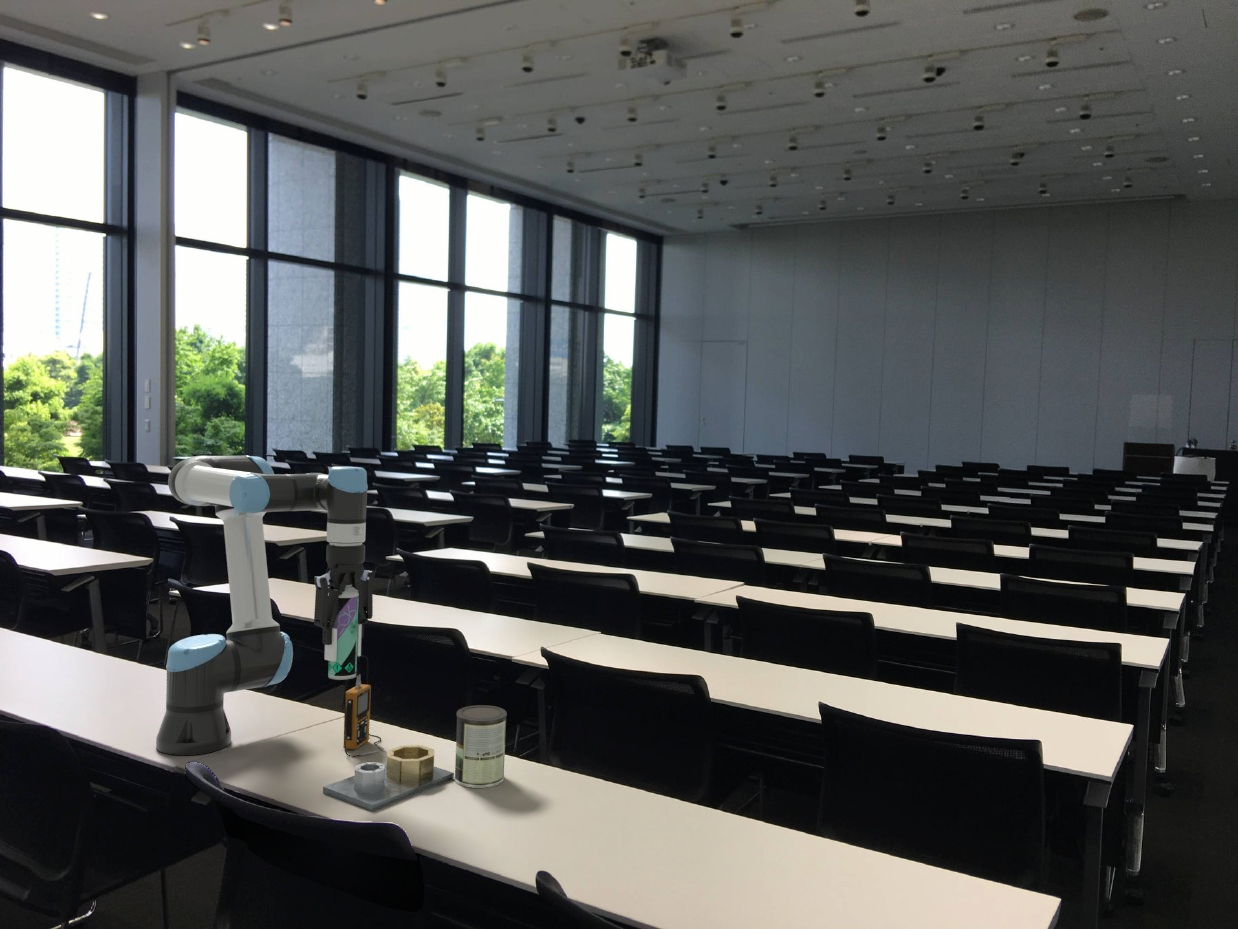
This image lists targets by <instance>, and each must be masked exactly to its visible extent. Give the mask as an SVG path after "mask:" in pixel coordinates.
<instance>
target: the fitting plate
mask: <svg viewBox="0 0 1238 929" xmlns="http://www.w3.org/2000/svg"><path fill="white" fill-rule="evenodd" d="M386 757H387V758H386V759H387V760H386V764H383V763H380V762H369V761H368V762H362V763H359V764H357V765H355V768H354V775H353V776H350V777H347V778H343V779H341V780H339V781H336V782H334V783H332V782H331V783H330V784H326V785H324V786H323V787H322V793H323V794H325V795H328V796H330V797H333V798H335V799H339V800H341V801H344V802H346V803H349V804H351V805H355V806H357V807H360V808H362V809H366V810H368V811H370V812H374V811H377V810H379V809H381V808H383V807H386V806H389V805H392V804H394V803H396V802H398V801H401V800H404V799H406V798H409V797H411V796H414V795H416V794H418V793H421V792H423V791H426V790H428V789H431V788H434V787H437V786H439V785H441V784H444V783H446V782H449V781H451V780H454V779H453V778H455V772H452V771H449V770H446V769H443V768H440V767H437V766H435V749H434V748H432V747H429V746H428V747H427V746H425V745H423V744H422V745H420V744H418V745H416V744H413V745H412V744H411V745H409V744H407V745H399V746H395V747H394V748H390V749H388V750H387V755H386Z"/></svg>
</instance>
